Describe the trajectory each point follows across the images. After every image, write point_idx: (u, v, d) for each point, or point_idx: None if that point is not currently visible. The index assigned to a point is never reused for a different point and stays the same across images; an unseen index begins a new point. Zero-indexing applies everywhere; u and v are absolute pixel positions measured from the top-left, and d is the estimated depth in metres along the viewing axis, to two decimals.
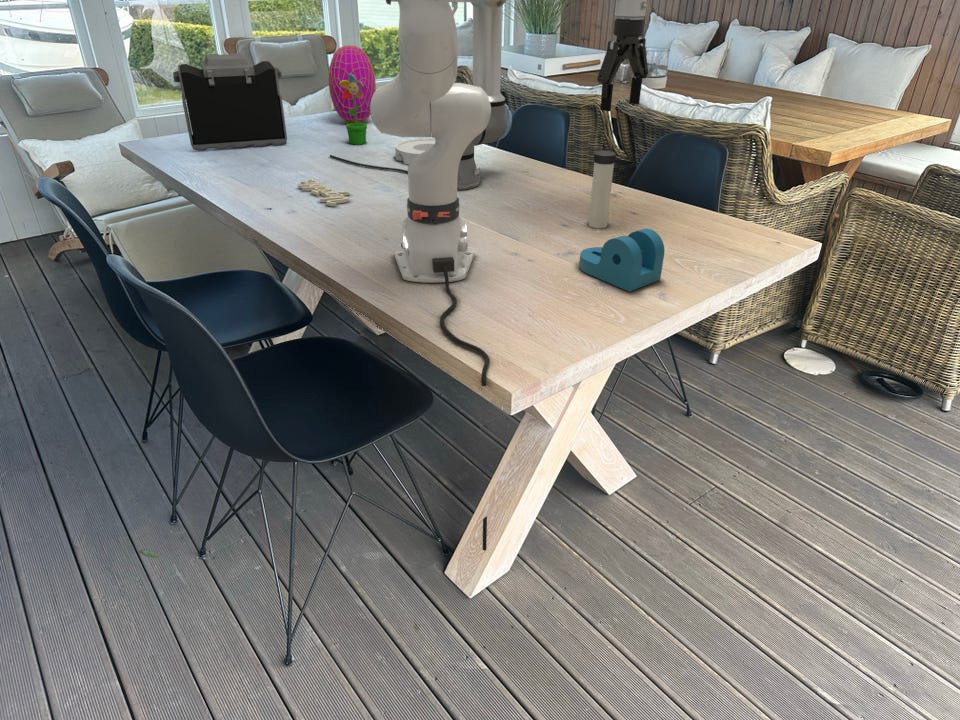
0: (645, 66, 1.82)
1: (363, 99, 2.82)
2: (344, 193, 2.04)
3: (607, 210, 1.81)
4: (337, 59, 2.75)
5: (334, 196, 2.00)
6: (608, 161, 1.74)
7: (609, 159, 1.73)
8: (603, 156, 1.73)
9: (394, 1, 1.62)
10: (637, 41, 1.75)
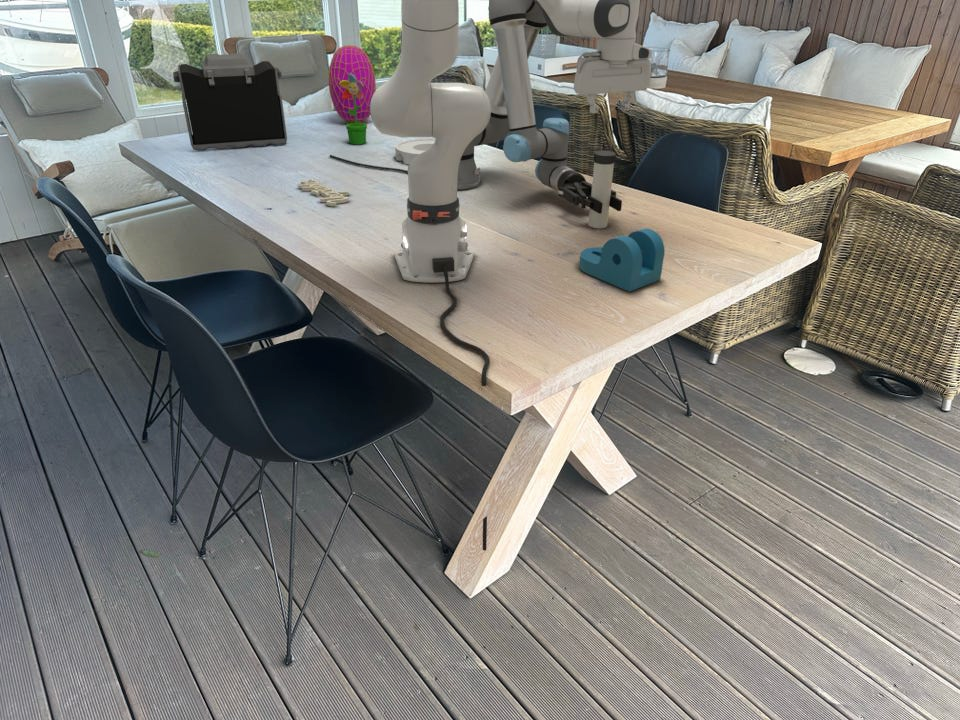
0: None
1: (363, 99, 2.82)
2: (344, 193, 2.04)
3: (607, 210, 1.81)
4: (337, 59, 2.75)
5: (334, 196, 2.00)
6: (608, 161, 1.74)
7: (609, 159, 1.73)
8: (603, 156, 1.73)
9: (585, 94, 1.63)
10: None
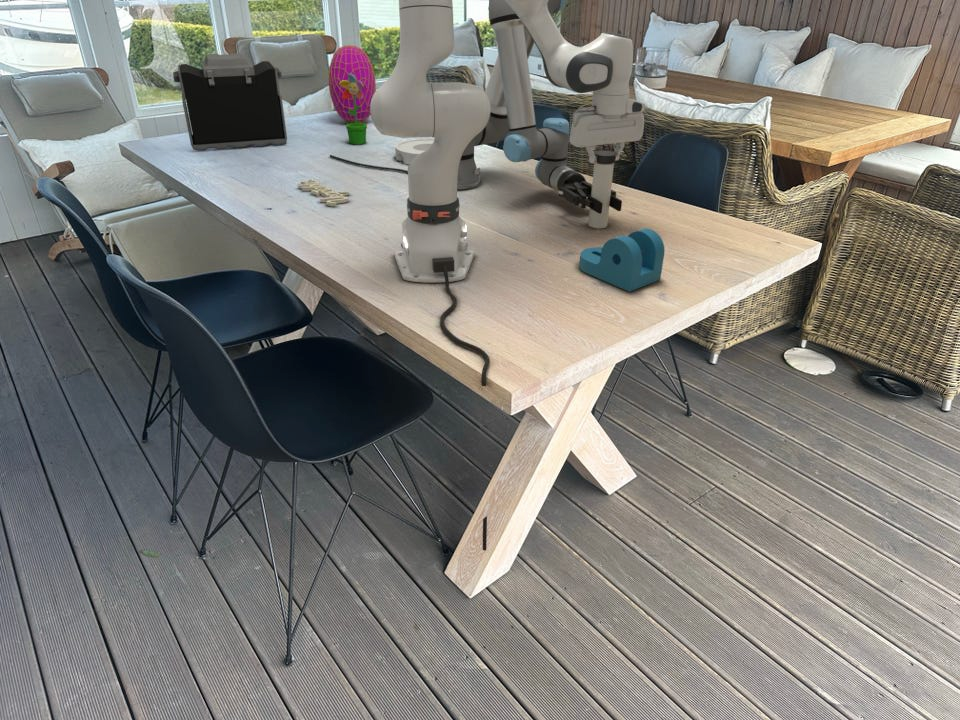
0: None
1: (363, 99, 2.82)
2: (344, 193, 2.04)
3: (607, 210, 1.81)
4: (337, 59, 2.75)
5: (334, 196, 2.00)
6: (608, 161, 1.74)
7: (609, 159, 1.73)
8: (603, 156, 1.73)
9: None
10: None
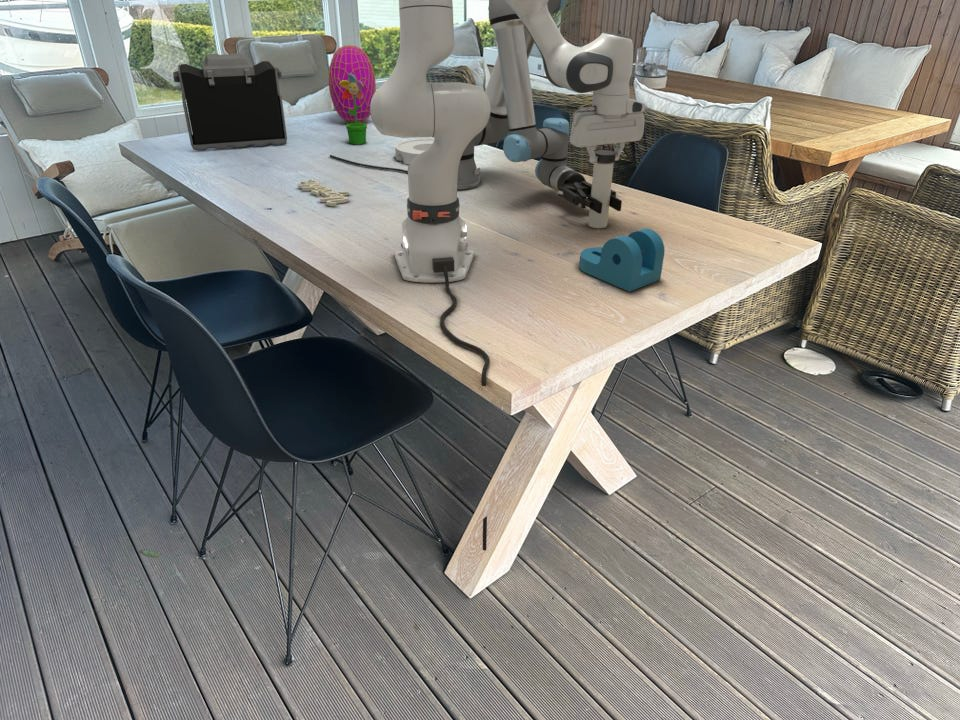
0: None
1: (363, 99, 2.82)
2: (344, 193, 2.04)
3: (607, 210, 1.81)
4: (337, 59, 2.75)
5: (334, 196, 2.00)
6: (614, 158, 1.75)
7: None
8: (613, 154, 1.74)
9: None
10: None
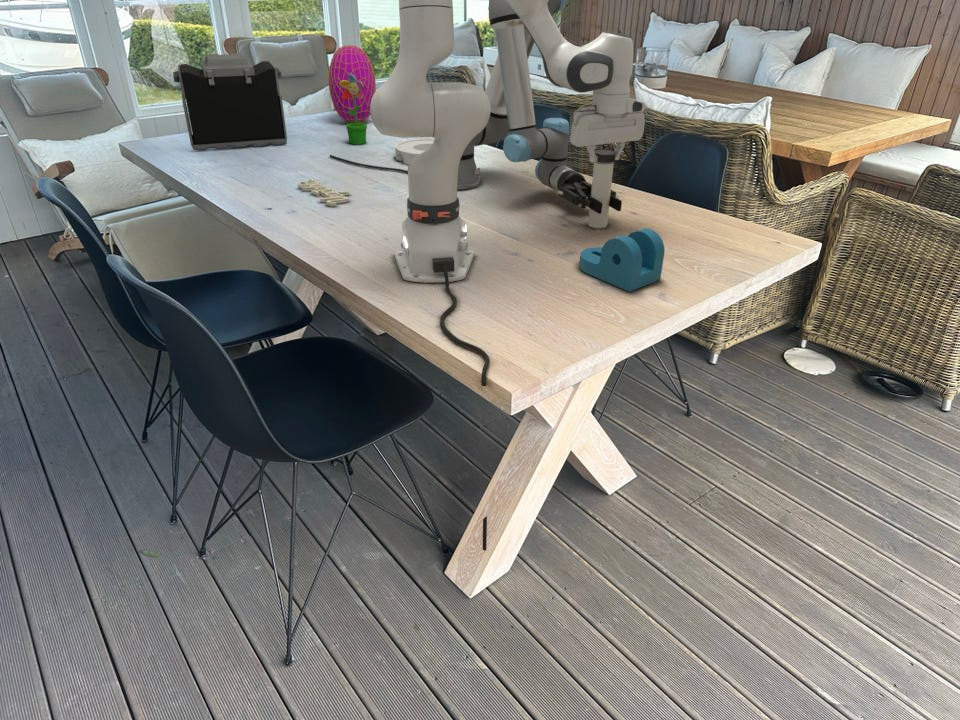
0: None
1: (363, 99, 2.82)
2: (344, 193, 2.04)
3: (607, 210, 1.81)
4: (337, 59, 2.75)
5: (334, 196, 2.00)
6: None
7: None
8: None
9: (581, 146, 1.69)
10: None
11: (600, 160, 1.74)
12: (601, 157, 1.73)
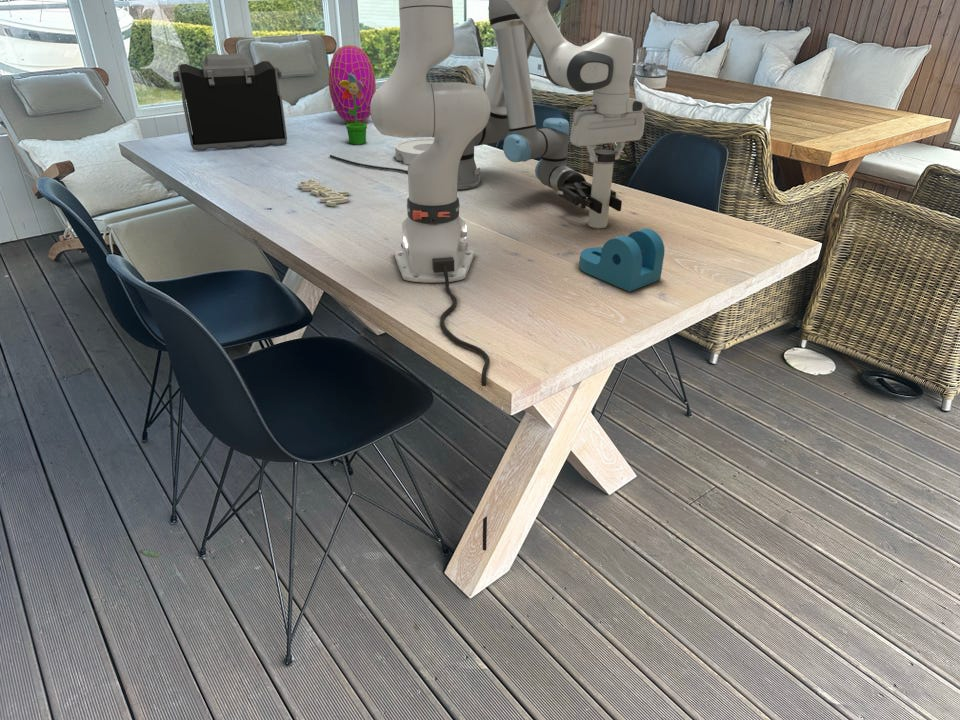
0: None
1: (363, 99, 2.82)
2: (344, 193, 2.04)
3: (607, 210, 1.81)
4: (337, 59, 2.75)
5: (334, 196, 2.00)
6: None
7: None
8: None
9: None
10: None
11: (611, 159, 1.74)
12: (612, 157, 1.74)
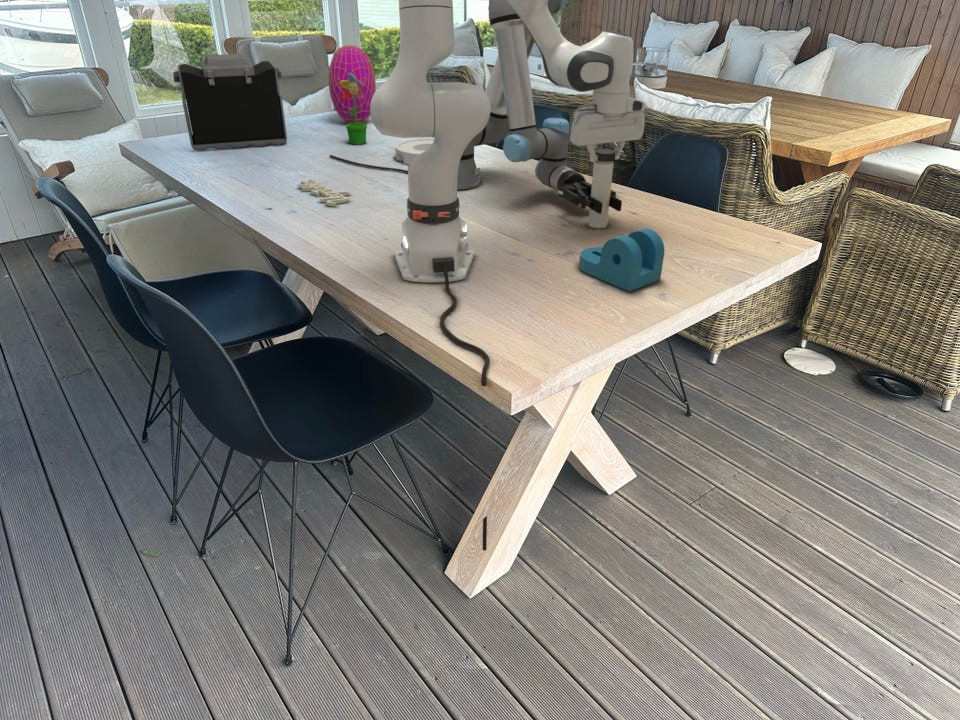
0: None
1: (363, 99, 2.82)
2: (344, 193, 2.04)
3: (607, 210, 1.81)
4: (337, 59, 2.75)
5: (334, 196, 2.00)
6: None
7: None
8: None
9: (581, 145, 1.69)
10: None
11: None
12: None
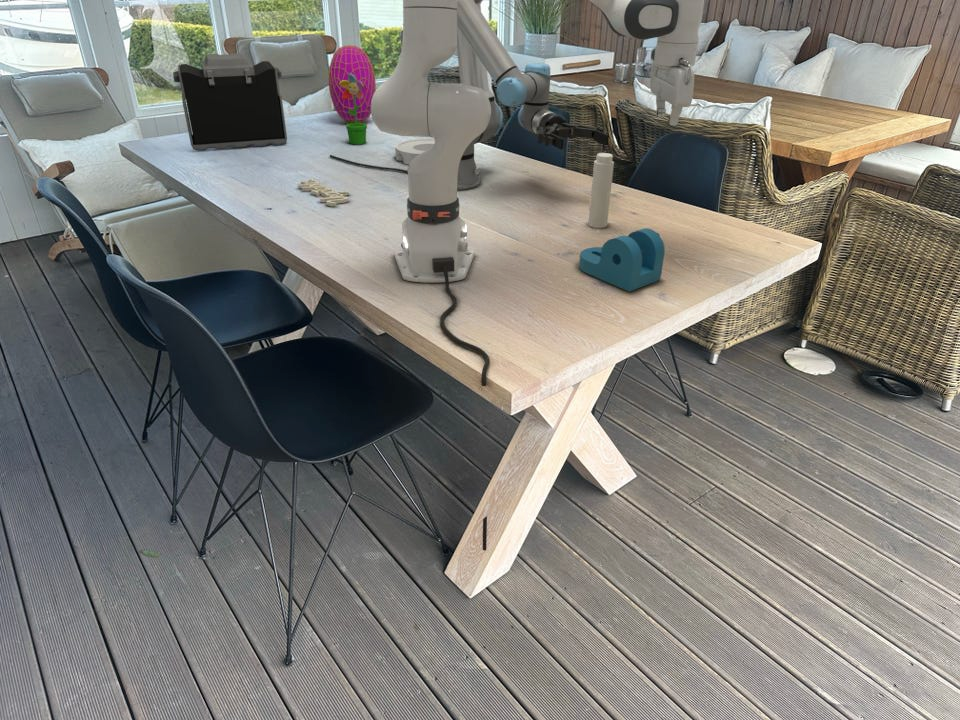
0: None
1: (363, 99, 2.82)
2: (344, 193, 2.04)
3: (607, 210, 1.81)
4: (337, 59, 2.75)
5: (334, 196, 2.00)
6: None
7: None
8: None
9: None
10: None
11: None
12: None
